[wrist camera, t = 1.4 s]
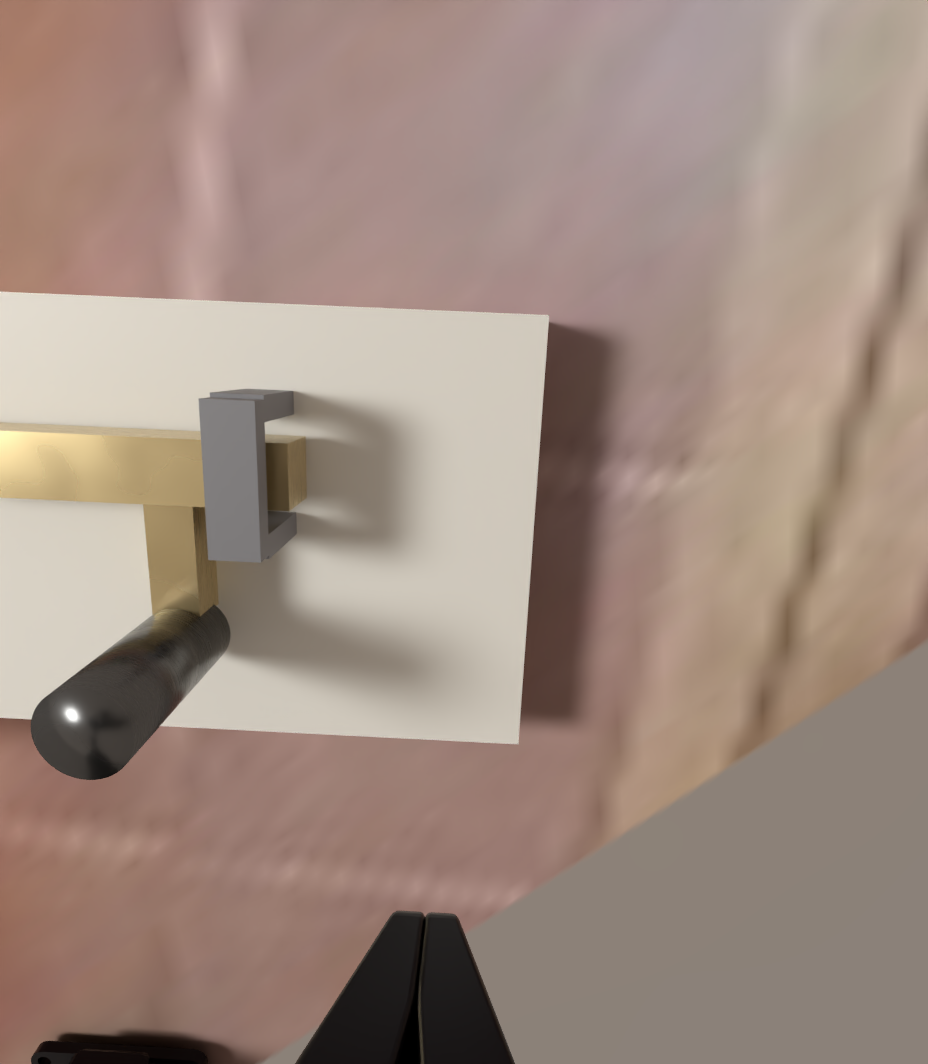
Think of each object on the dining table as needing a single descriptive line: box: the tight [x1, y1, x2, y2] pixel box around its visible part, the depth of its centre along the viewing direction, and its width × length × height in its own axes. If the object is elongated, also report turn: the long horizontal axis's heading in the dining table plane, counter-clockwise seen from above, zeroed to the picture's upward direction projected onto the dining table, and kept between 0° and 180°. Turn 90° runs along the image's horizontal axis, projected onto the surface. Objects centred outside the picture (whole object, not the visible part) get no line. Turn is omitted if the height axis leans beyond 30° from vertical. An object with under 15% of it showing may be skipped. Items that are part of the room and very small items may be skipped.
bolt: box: [0, 422, 307, 780], centre depth 15 cm, size 6×10×6 cm, turn 88°
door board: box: [0, 292, 549, 744], centre depth 17 cm, size 12×24×6 cm, turn 88°
